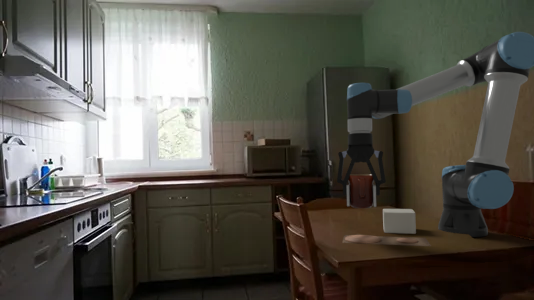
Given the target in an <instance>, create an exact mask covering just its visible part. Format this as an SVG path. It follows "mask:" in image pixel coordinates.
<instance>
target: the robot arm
mask: <svg viewBox="0 0 534 300" xmlns="http://www.w3.org/2000/svg"><path fill="white" fill-rule="evenodd" d="M533 67H534V36H533V35H532V34H531V33H528V32H526V31H525V32H524V31H514V32H512V33H509V34H506V35H504V36H501V38H500V39H498V40H496V41H494V42H492V43H490V44H489V45H486V46H484V47H483V48H481V49H479V50H477V51H476V52H475V53H473V54H472V55H470V56H468V57H466V58H464V59H461V60H458V62H457V64H456V65H453V66H451V67H449V68H445V69H443V70H442V71H439V72H437V73H434V74H432V75H429V76H426V77H424V78H422V79H421V78H420V79H419V80H416V81H414V82H411V83H409V84H406V85H403V86H401V87H398V88H396V89H373V88H372V84H371V83H369V82H356V83H351V84H349V85H348V86H347V92H346V93H347V95H346V104H347V105H346V106H347V111H346V113H347V132H348V135H347V149H346V150H344V151H339V152H338V153H337V155H338V158H339V161H338V168H337V169H338V170H337V177H336V182H337V183H338V184H340V185H342V194H343V196H346V206H347V207H350V206H351V205H350V186H349V184H348V183H349V181H348V179H349V176H350V174H352V171H353V170H354V166H355V163H357V164H358V163H366V164H367V167H368V169H369V172H370V174H372V177H373V179H374V183H375V184H373V208H376V207H377V196H380V195H381V188H380V186H381V185H382V184H385V183H386V181H387V180H386V174H385V169H384V163H383V157H384V156H383V155H384V151H383V150H376V149H374V145H373V143H374V142H373V140H374V139H373V138H374V137H373V133H371V132H373V119H375V120H380V119H384V118H386V117H388V116H392V115H393V114H396V115H397V114H399V115H401V114H408V113H409V112H410V111H411V109H412V107H413V106H416V105H418V104H421V103H423V102H426V101H429V100H431V99H434V98H437V97H439V96H441V95H444V94H446V93H449V92H451V91H454V90H457V89H459V88H462V87H473V86H475V85H478V84H482V83H484V82H487V89H486V92H485V97H484V103H483V108H482V111H481V117H480V123H479V127H478V132H477V137H476V140H475V141H476V142H475V146H474V151H473V155H472V157H471V158H469V159H468V160H466V164H458V165H449V166H445V167H443V168H442V172H441V182H442V183H441V187H442V188H441V189H442V212H441V215H440V217H439V222H438V226H437V227H438V228H437V229H438V230H439V231H443V232H446V233H451V234H452V233H453V234H460V235H461V234H463V235H469V236H470V237H471V238H479V237H480V238H481V237H486V236H488V235H489V233H488V232H489V231H488V230H489V229H488V225H487V223H486V220H485V218H484V215H483V213H482V209H483V210H486V209H488V210H495V209H499V208H501V207H503V206H505V205H507V204H508V203H509V201H510V200H511V198H512V197H513V194H514V191H515V190H514V189H515V187H514V183H513V181H512V180H511V177H510V176H509V172H510V166H508V164H507V163H506V159H507V153H508V150H509V149H508V148H509V143H510V138H511V133H512V128H513V124H514V119H515V113H516V108H517V104H518V99H519V94H520V90H521V86H522V85H523V84H525V83H526V82H528V80H529V76H530V69H532V68H533ZM347 155H348V157H350V160H351V161H350V163H349V166H348V167H347V171H346V174H345V176H344V179H343V178H342V177H343V170H344V162H345V161H344V160H345V158H346V157H347ZM373 155H375V158H376V159H377V162H378V170H379V175H380V179H379V178H378V176H377V174H376V172H375V168H374V167H373V165H372V162H371V160H370V159H371V158H372V156H373Z"/></svg>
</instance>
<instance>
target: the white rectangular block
mask: <svg viewBox="0 0 534 300" xmlns="http://www.w3.org/2000/svg"><path fill="white" fill-rule="evenodd" d="M416 219H417V218H416V212H415V211H414V210H413V209H412V208H383V209H382V222H383V223H382V225H383V227H382V228H383V233H384V234H385V233H387V234H413V235H414V234H416V233H417V226H416V225H417V224H416Z"/></svg>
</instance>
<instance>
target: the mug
mask: <svg viewBox="0 0 534 300" xmlns="http://www.w3.org/2000/svg"><path fill="white" fill-rule="evenodd" d="M374 183H375V181H374V179H373V177H372V174H371V173H370V174H369V173H364V174H363V173H358V174H357V173H355V174H352V173H351V174H350V176H349V179H348V185H349V186H350V206H351V207H352V208H354V209H370V208H372V207H374V201H373V185H374Z"/></svg>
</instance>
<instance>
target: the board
mask: <svg viewBox="0 0 534 300" xmlns="http://www.w3.org/2000/svg"><path fill="white" fill-rule="evenodd" d="M342 244H365V245H387V246H390V245H391V246H412V247H432V244H431V243H430V242H429V241H428V239H427V238H426V237H412V236H411V237H408V236H378V235H377V236H376V235H370V234H369V235H368V234H351V235H350V234H348V235H347V234H345V235H343V238H342Z"/></svg>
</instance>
